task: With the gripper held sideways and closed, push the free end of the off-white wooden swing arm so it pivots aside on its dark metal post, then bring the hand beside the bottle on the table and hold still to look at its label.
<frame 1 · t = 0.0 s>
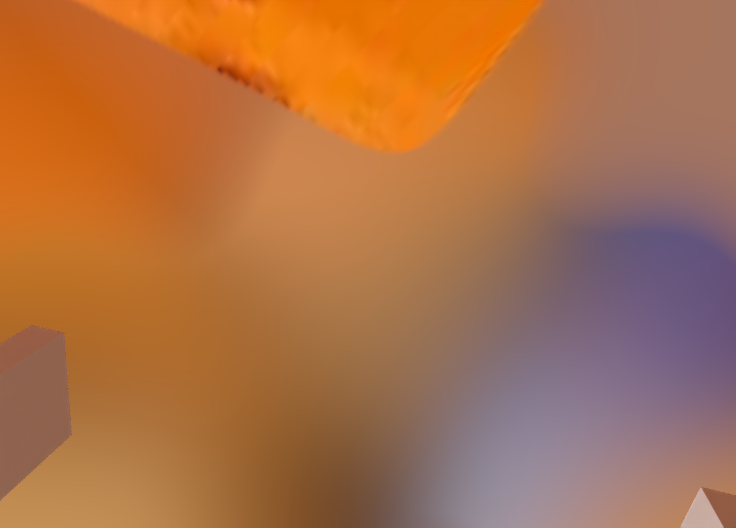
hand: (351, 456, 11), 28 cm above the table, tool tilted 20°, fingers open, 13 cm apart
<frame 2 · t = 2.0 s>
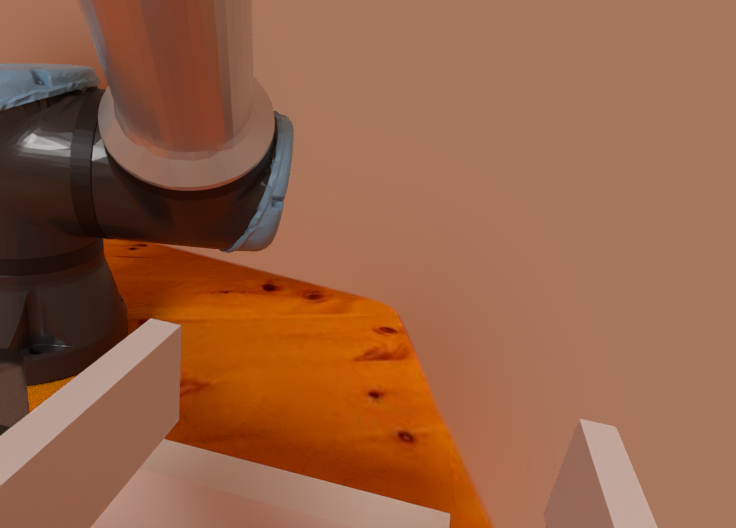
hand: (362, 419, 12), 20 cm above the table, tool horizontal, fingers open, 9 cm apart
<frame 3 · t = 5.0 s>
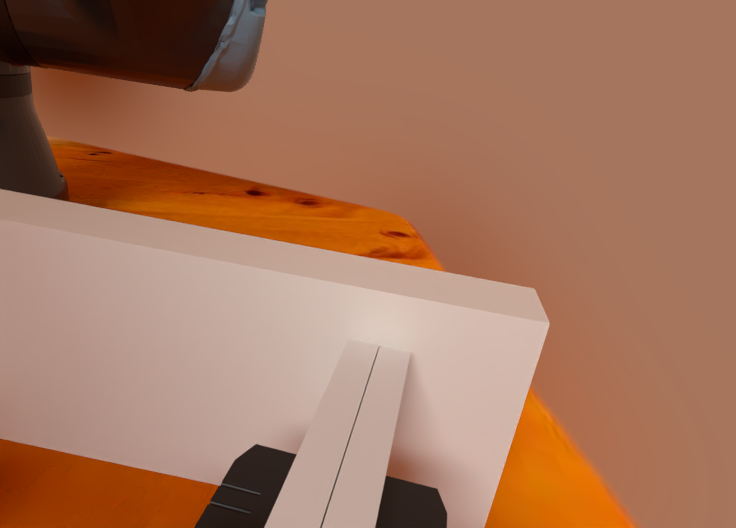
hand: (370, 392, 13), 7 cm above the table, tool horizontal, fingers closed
swing arm: (159, 348, 15), point 6 cm above the table, hinge at 3.4°, touching gripper
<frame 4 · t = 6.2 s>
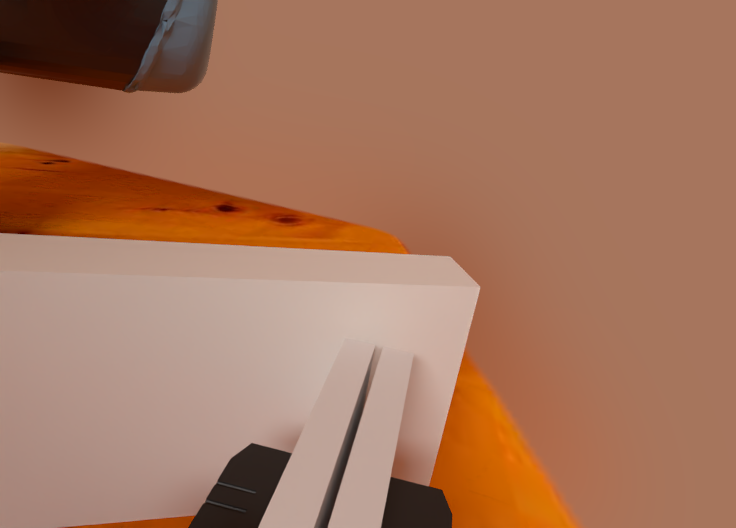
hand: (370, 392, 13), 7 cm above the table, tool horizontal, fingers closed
swing arm: (60, 386, 13), point 6 cm above the table, hinge at 24.6°, touching gripper
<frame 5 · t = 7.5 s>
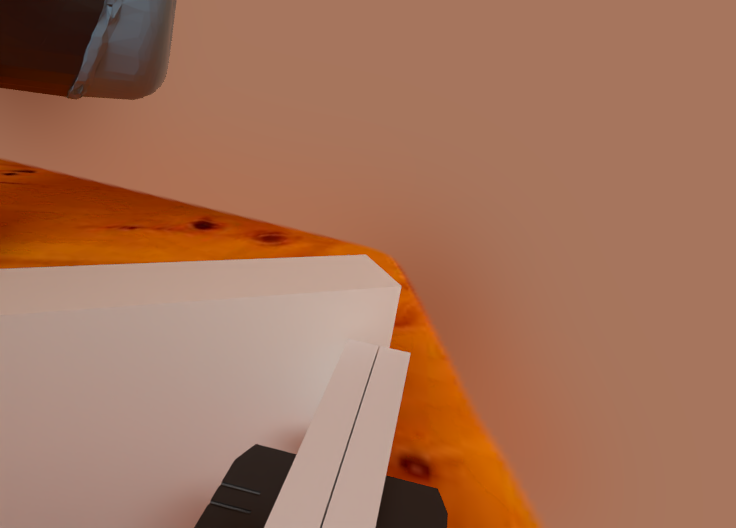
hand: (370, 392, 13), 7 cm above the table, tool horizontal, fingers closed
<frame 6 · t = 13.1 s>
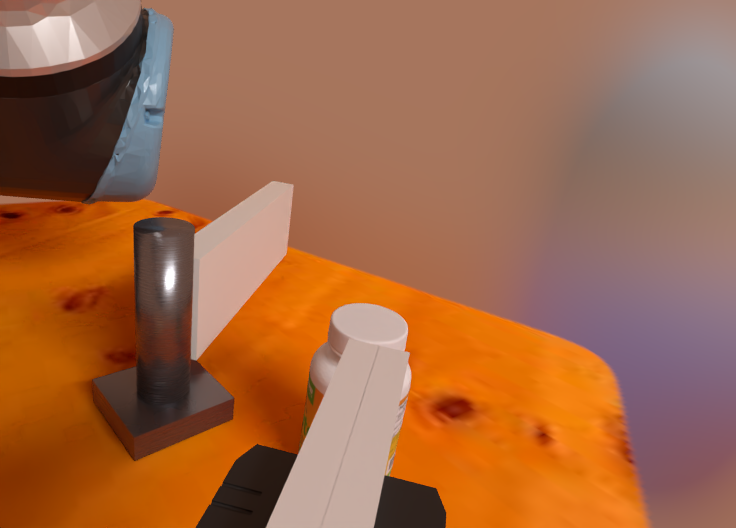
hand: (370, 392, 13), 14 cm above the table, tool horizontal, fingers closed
supplement bottle: (343, 470, 30), on the table
swing arm: (242, 253, 41), point 6 cm above the table, hinge at 36.9°
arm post: (163, 410, 32), on the table
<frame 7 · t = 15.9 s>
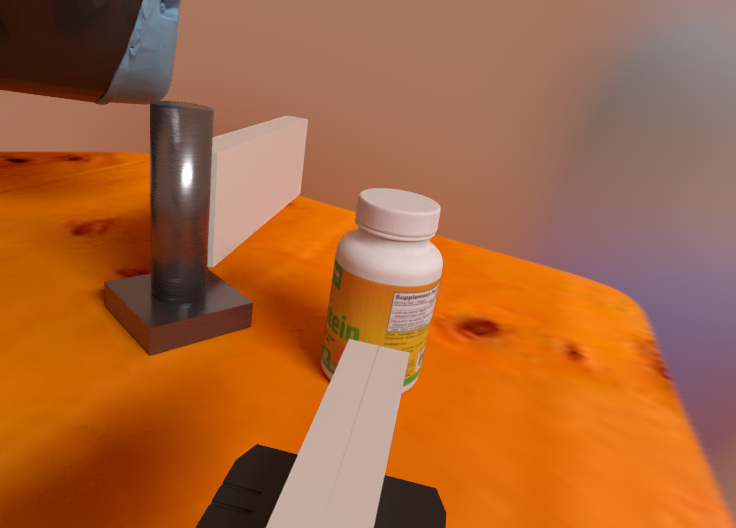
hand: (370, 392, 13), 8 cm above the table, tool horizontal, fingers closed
supplement bottle: (368, 373, 29), on the table
swing arm: (257, 176, 39), point 6 cm above the table, hinge at 36.9°
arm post: (178, 316, 31), on the table
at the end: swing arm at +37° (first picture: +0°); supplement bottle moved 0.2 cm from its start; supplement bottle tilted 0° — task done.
